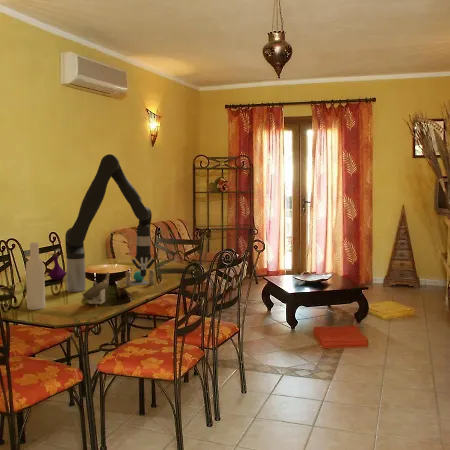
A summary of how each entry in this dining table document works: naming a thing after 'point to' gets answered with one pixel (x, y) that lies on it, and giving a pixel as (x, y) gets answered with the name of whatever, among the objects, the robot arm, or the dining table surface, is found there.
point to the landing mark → (138, 282)
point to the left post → (128, 279)
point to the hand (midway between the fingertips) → (143, 276)
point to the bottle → (35, 279)
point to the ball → (138, 276)
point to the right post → (151, 277)
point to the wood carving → (97, 291)
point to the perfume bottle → (56, 268)
